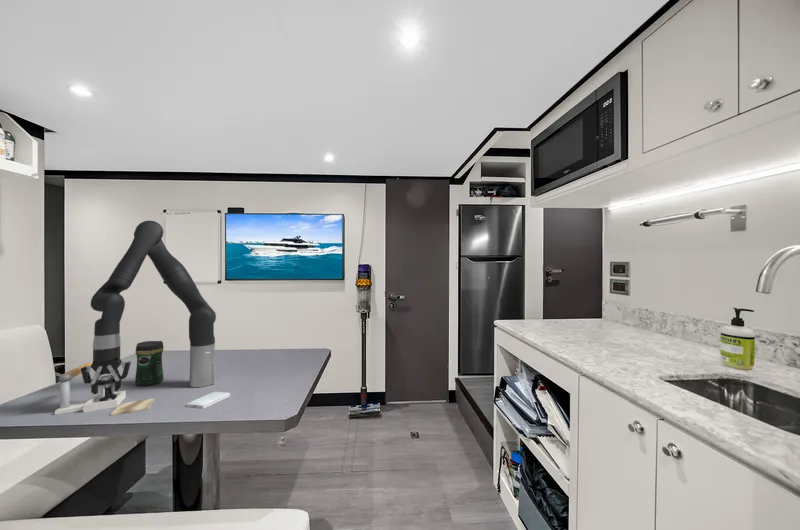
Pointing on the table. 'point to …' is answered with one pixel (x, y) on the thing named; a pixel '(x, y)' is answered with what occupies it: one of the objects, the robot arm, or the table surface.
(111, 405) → the socket housing
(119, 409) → the wood pad
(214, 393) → the hard drive
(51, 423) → the table surface
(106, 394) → the push button
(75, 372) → the bar
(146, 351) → the coffee jar
